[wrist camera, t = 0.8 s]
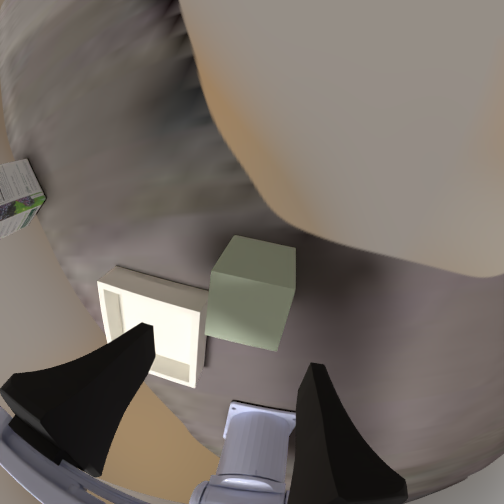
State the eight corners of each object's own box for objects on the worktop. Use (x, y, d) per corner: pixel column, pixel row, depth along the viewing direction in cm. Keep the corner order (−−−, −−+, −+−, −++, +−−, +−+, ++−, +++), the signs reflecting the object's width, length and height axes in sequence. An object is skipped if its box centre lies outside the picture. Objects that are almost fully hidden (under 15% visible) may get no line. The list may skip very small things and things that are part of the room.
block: (282, 300, 21) (276, 351, 16) (226, 287, 22) (204, 334, 16) (295, 247, 20) (295, 289, 14) (234, 234, 20) (211, 270, 14)
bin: (203, 366, 26) (195, 388, 23) (124, 340, 26) (110, 357, 23) (211, 291, 22) (200, 312, 19) (115, 265, 23) (97, 280, 20)
